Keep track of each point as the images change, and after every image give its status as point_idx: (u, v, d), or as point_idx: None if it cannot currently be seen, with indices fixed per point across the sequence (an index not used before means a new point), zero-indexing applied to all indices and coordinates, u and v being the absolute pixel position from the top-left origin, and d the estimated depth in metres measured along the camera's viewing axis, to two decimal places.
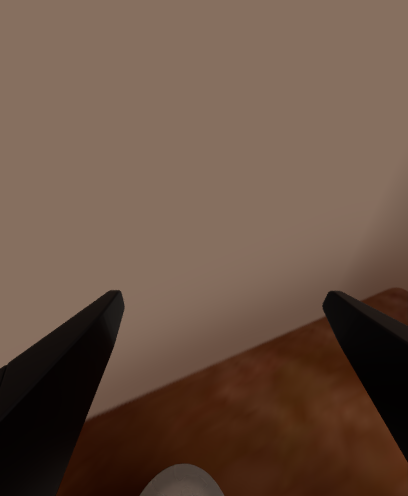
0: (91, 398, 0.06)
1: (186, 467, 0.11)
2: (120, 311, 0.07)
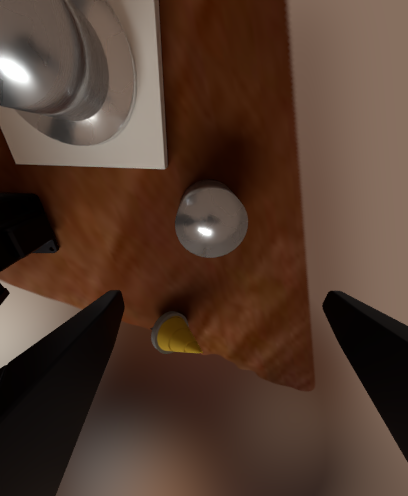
0: (91, 398, 0.06)
1: (245, 230, 0.15)
2: (120, 311, 0.07)
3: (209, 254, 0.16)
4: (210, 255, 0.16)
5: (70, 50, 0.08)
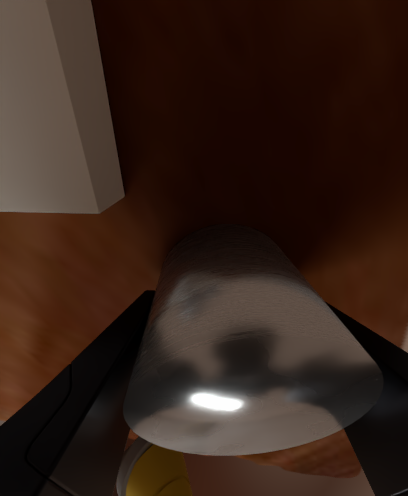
0: None
1: (356, 416, 0.05)
2: None
3: (234, 451, 0.06)
4: (237, 452, 0.06)
5: None
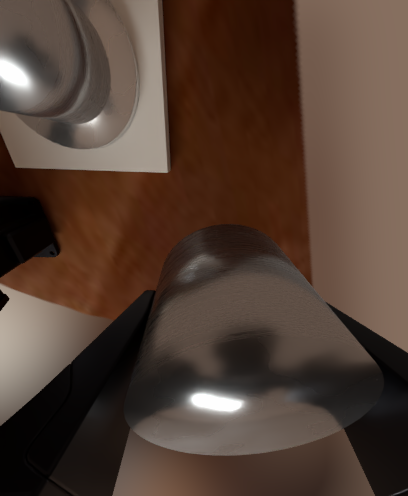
0: None
1: (357, 416, 0.05)
2: None
3: (234, 452, 0.06)
4: (238, 452, 0.06)
5: (70, 51, 0.08)
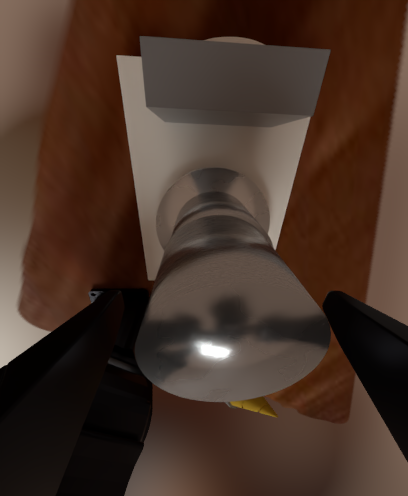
0: (91, 398, 0.06)
1: (316, 361, 0.06)
2: (120, 311, 0.07)
3: (222, 397, 0.07)
4: (225, 398, 0.07)
5: None
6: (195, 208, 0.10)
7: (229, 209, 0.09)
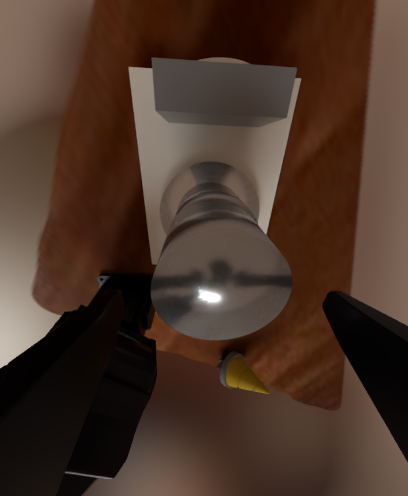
0: (91, 398, 0.06)
1: (284, 300, 0.08)
2: (120, 311, 0.07)
3: (215, 335, 0.09)
4: (218, 337, 0.09)
5: None
6: (194, 194, 0.12)
7: (222, 194, 0.11)
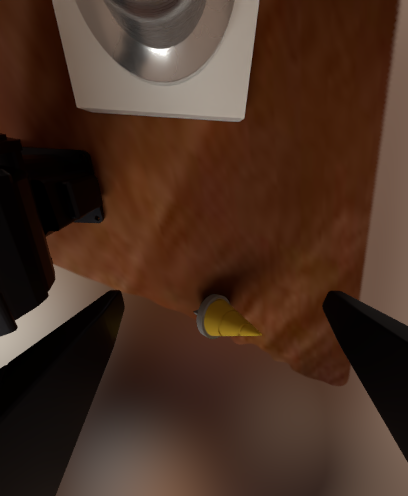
0: (91, 398, 0.06)
1: None
2: (120, 311, 0.07)
3: None
4: None
5: None
6: None
7: None
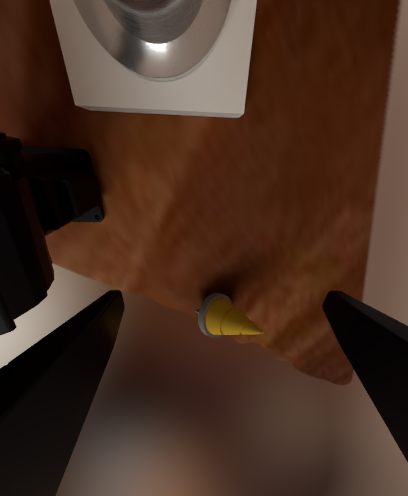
0: (91, 398, 0.06)
1: None
2: (120, 311, 0.07)
3: None
4: None
5: None
6: None
7: None
